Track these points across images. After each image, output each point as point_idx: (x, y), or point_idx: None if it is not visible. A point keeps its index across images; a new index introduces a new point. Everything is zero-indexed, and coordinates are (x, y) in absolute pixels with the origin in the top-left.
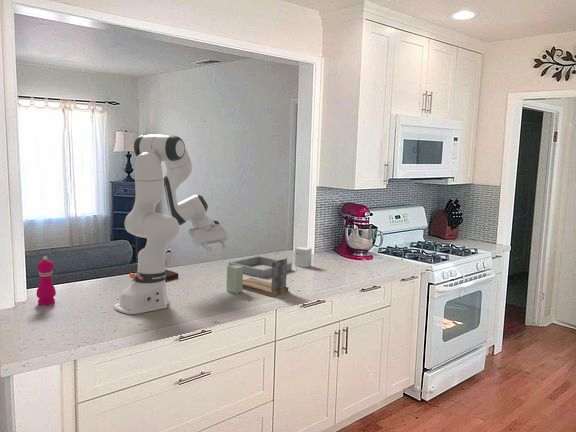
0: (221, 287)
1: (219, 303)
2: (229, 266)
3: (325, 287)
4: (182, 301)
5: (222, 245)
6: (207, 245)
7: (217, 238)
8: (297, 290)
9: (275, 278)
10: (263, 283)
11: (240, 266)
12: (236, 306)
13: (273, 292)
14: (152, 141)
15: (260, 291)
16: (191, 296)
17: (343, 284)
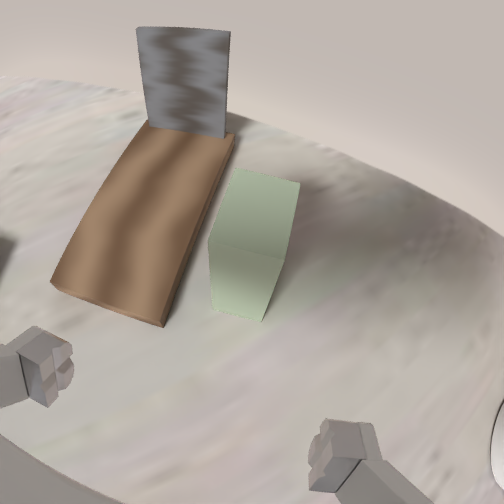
0: (217, 377)
1: (413, 258)
2: (285, 239)
3: (80, 90)
4: (474, 381)
5: (45, 371)
6: (388, 485)
7: (9, 459)
8: (128, 118)
9: (210, 94)
10: (124, 196)
11: (239, 181)
12: (395, 199)
13: (227, 134)
14: None
15: (216, 180)
16: (420, 402)
17: (49, 80)
